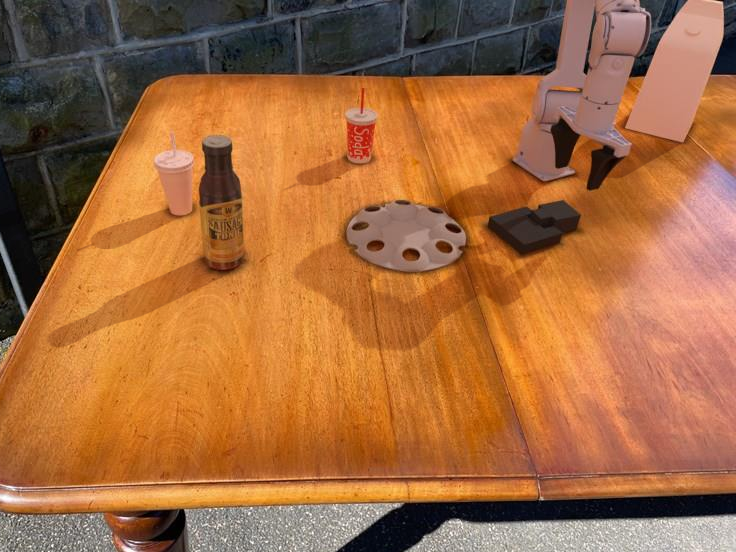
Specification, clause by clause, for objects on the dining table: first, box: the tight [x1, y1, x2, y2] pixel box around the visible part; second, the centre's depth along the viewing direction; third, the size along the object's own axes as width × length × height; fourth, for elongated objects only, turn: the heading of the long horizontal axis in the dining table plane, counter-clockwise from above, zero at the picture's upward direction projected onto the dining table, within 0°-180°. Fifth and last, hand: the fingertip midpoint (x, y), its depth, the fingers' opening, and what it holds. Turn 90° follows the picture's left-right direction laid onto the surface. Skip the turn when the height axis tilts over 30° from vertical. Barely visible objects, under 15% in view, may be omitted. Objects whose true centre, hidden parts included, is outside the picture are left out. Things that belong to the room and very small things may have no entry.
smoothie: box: [153, 130, 195, 216], centre depth 104 cm, size 6×6×14 cm
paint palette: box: [346, 199, 467, 273], centre depth 104 cm, size 20×20×2 cm
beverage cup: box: [344, 87, 379, 165], centre depth 120 cm, size 6×6×14 cm
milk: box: [624, 0, 725, 143], centre depth 132 cm, size 12×12×26 cm
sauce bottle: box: [198, 134, 245, 271], centre depth 92 cm, size 7×6×20 cm
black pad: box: [487, 206, 564, 255], centre depth 105 cm, size 9×8×2 cm
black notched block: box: [529, 199, 582, 233], centre depth 107 cm, size 5×7×3 cm
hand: (576, 177), depth 104 cm, fingers open, 7 cm apart
